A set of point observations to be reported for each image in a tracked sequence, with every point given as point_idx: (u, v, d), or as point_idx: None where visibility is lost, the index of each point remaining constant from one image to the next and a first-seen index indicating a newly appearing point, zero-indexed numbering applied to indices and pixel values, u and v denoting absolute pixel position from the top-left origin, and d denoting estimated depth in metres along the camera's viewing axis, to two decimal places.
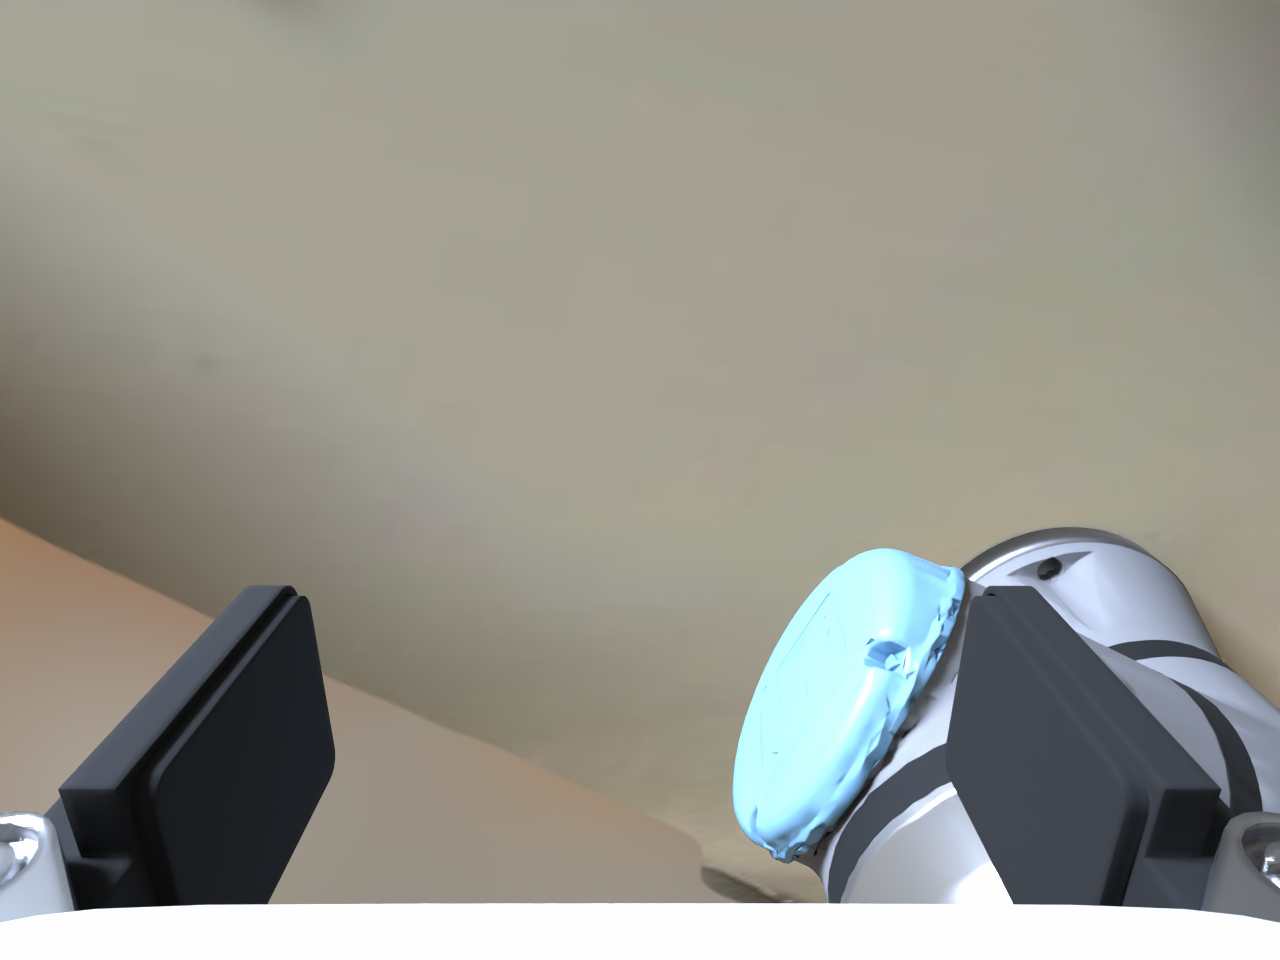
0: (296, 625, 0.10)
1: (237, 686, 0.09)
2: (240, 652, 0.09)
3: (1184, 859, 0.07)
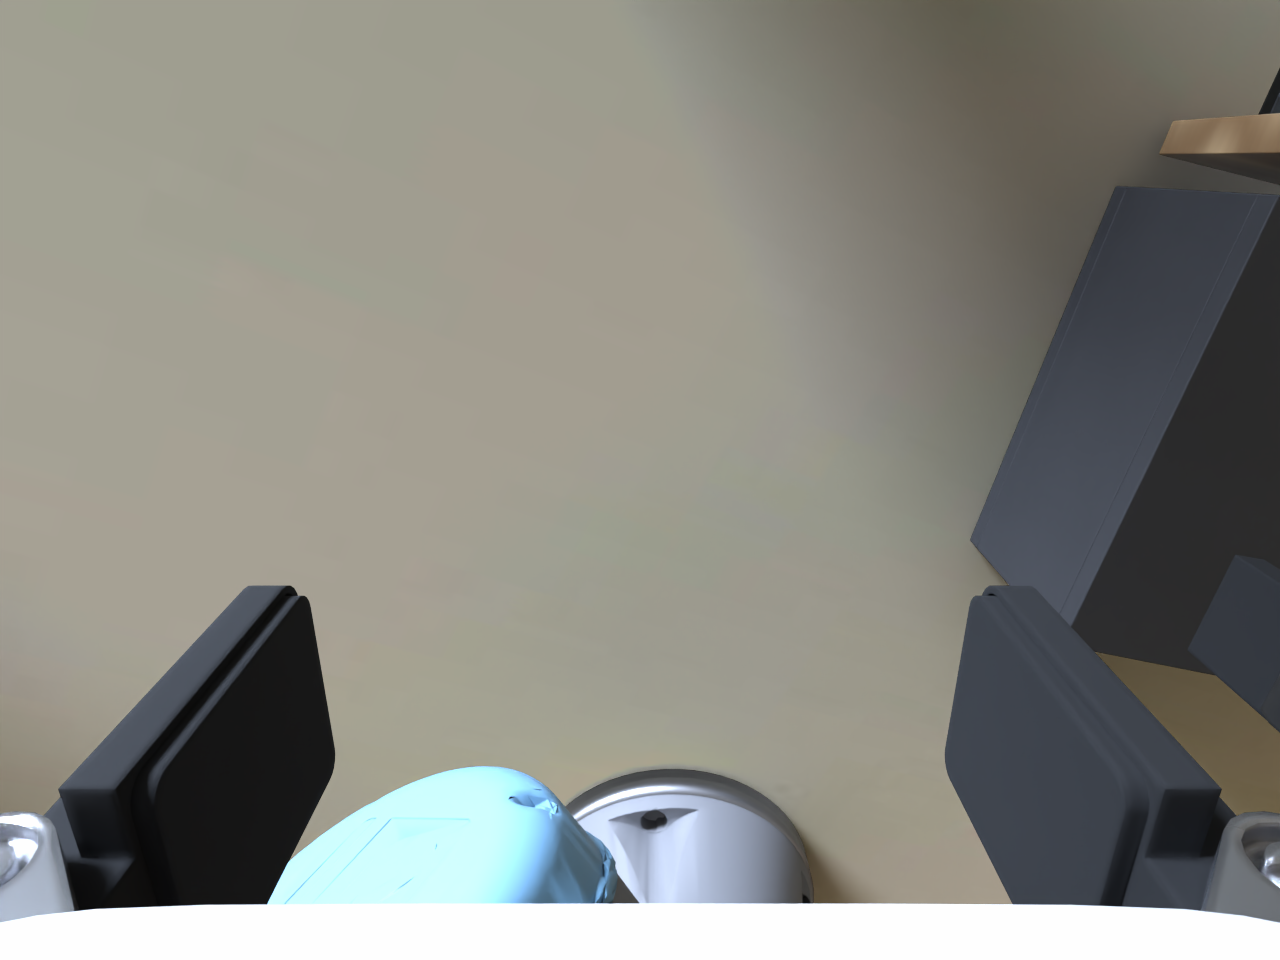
0: (296, 625, 0.10)
1: (237, 686, 0.09)
2: (240, 651, 0.09)
3: (1184, 859, 0.07)
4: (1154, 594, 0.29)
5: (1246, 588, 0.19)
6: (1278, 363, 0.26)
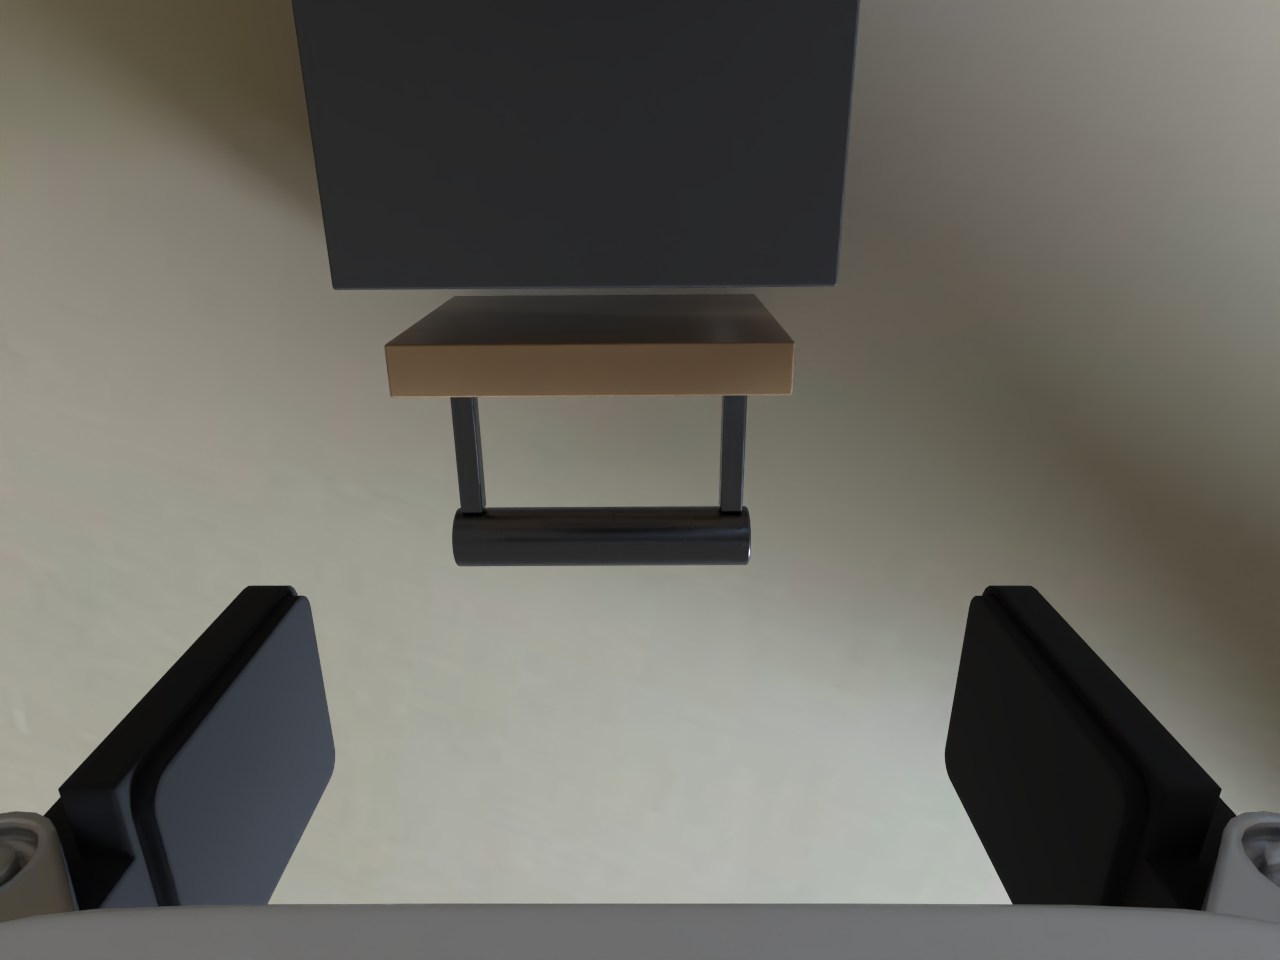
0: (296, 625, 0.10)
1: (238, 686, 0.09)
2: (239, 652, 0.09)
3: (1184, 859, 0.07)
4: None
5: None
6: (718, 27, 0.15)
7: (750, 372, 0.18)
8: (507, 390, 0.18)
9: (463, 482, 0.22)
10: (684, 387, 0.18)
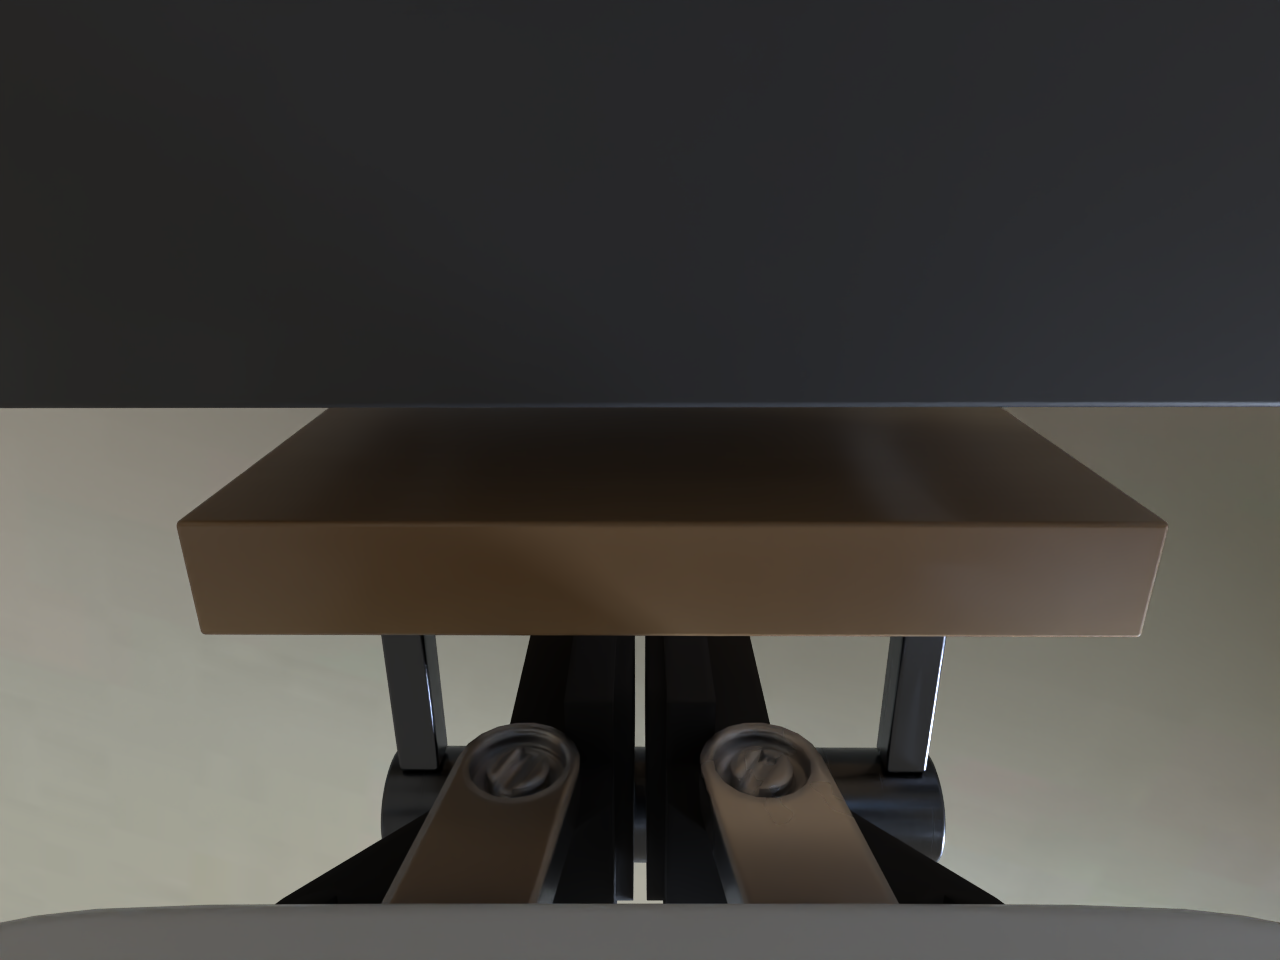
0: None
1: None
2: None
3: (696, 765, 0.09)
4: None
5: None
6: None
7: (1051, 588, 0.07)
8: (472, 621, 0.08)
9: (401, 719, 0.12)
10: (889, 619, 0.08)
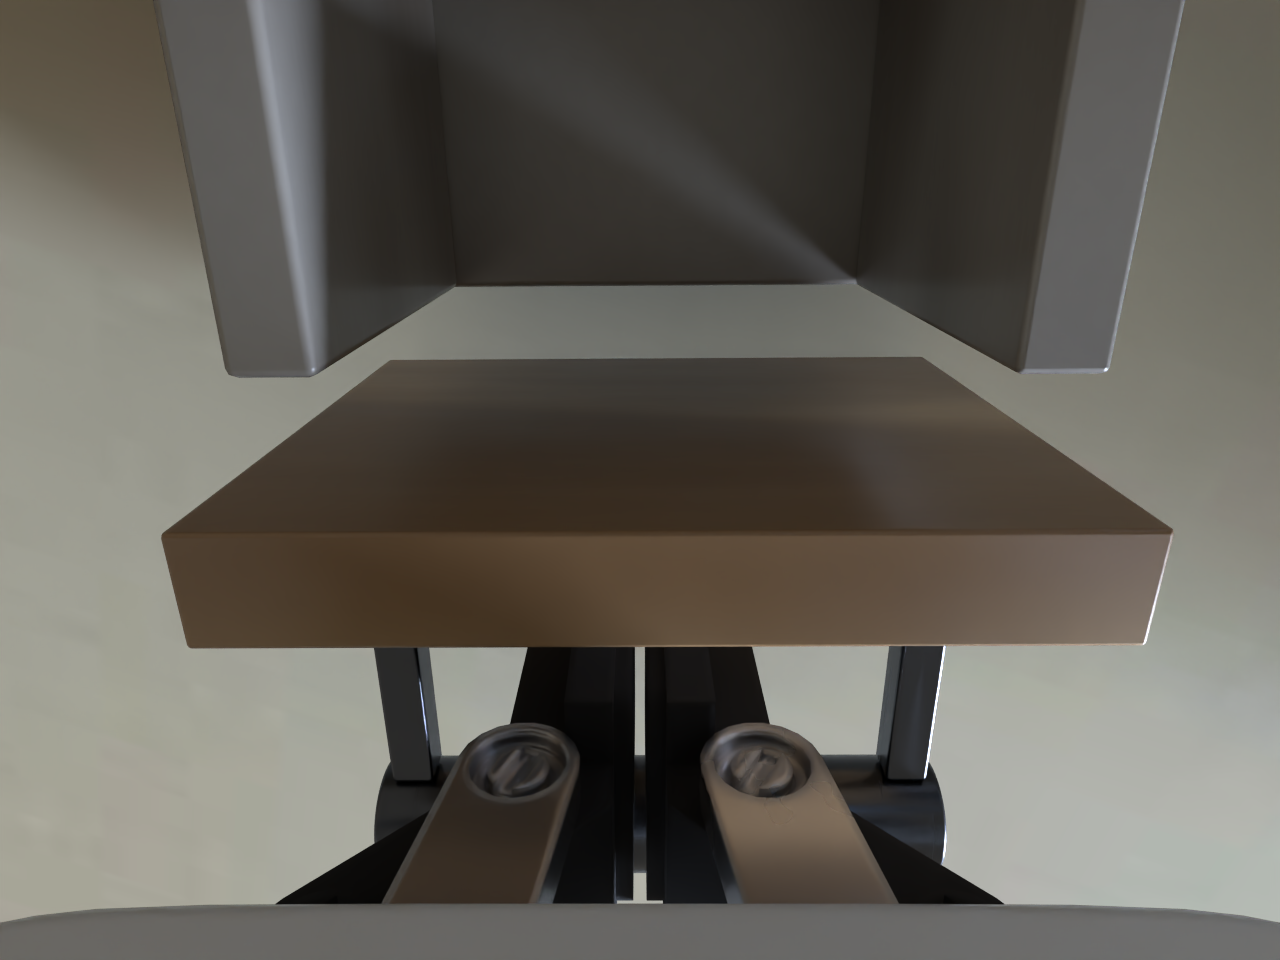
0: None
1: None
2: None
3: (695, 765, 0.09)
4: None
5: None
6: None
7: (1054, 596, 0.07)
8: (465, 633, 0.08)
9: (394, 730, 0.11)
10: (890, 629, 0.07)
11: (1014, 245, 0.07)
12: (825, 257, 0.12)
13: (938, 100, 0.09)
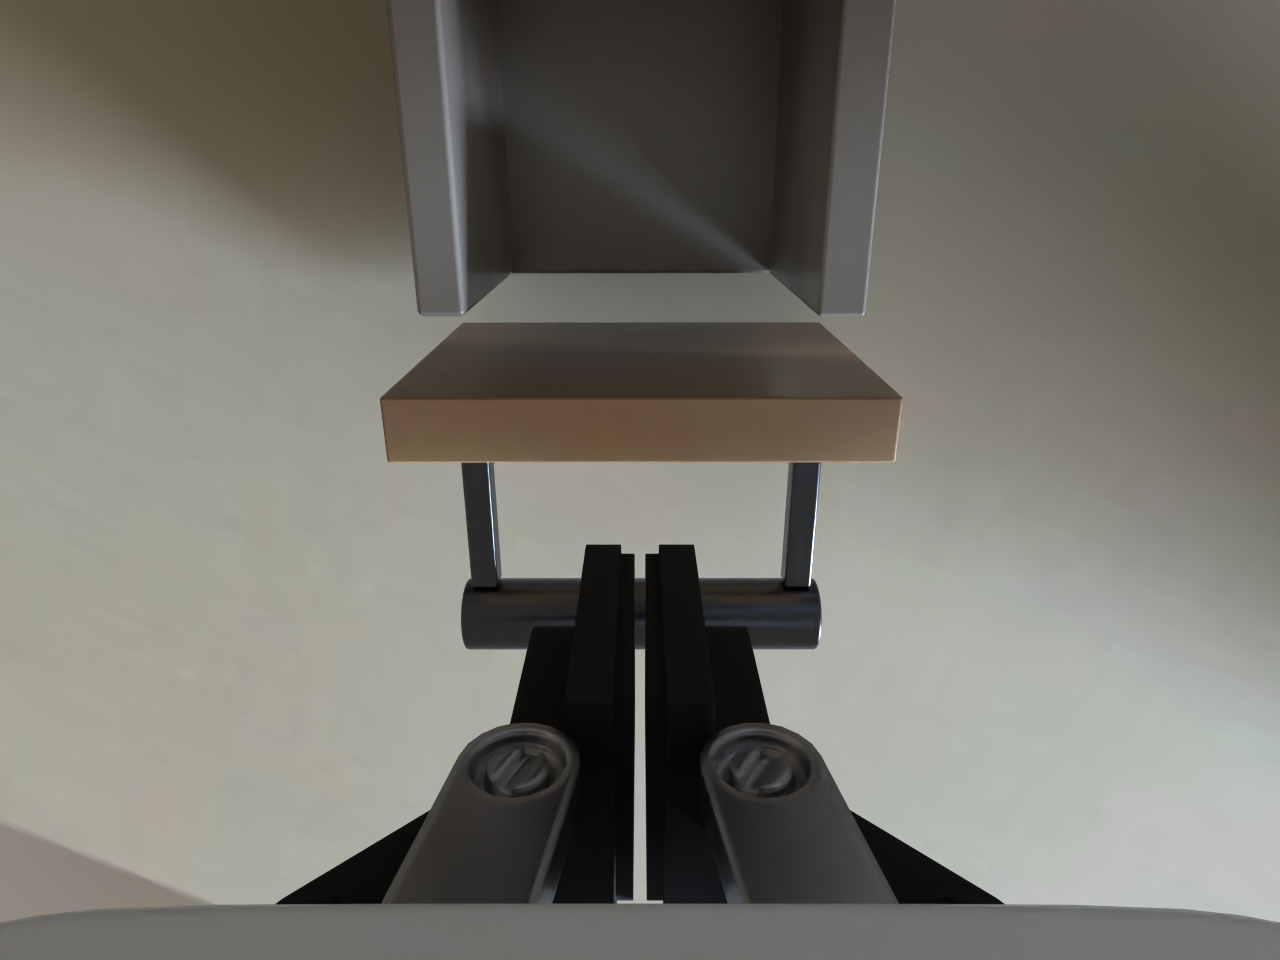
0: None
1: (633, 625, 0.10)
2: (619, 598, 0.11)
3: (695, 765, 0.09)
4: None
5: None
6: None
7: (844, 434, 0.14)
8: (535, 454, 0.14)
9: (475, 551, 0.18)
10: (760, 452, 0.14)
11: (817, 251, 0.14)
12: (749, 255, 0.19)
13: (797, 168, 0.15)
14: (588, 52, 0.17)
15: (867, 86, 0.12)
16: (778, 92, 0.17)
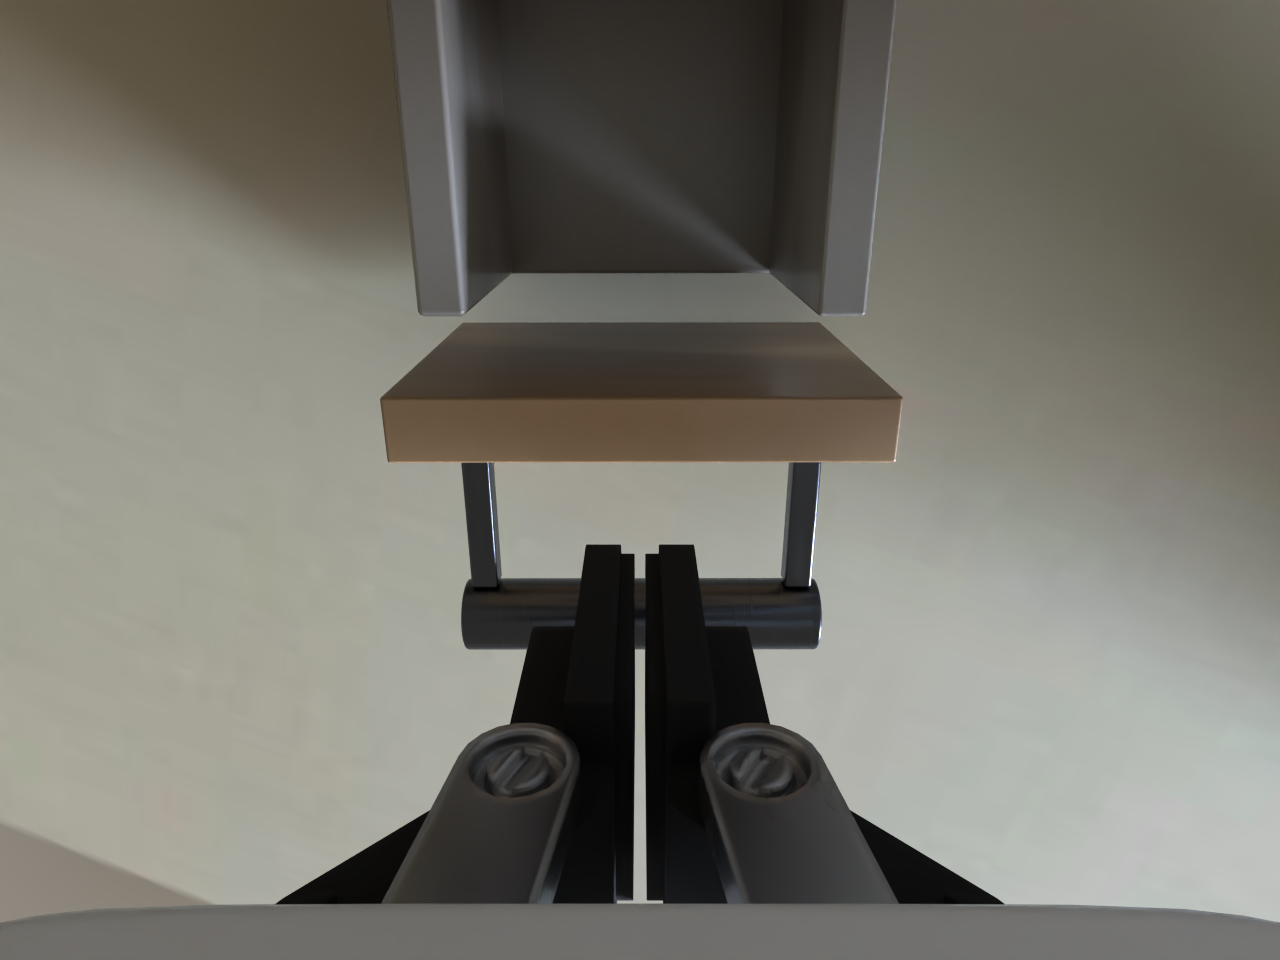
0: None
1: (633, 625, 0.10)
2: (619, 598, 0.11)
3: (695, 765, 0.09)
4: None
5: None
6: None
7: (845, 434, 0.14)
8: (536, 454, 0.14)
9: (475, 552, 0.18)
10: (760, 452, 0.14)
11: (818, 250, 0.14)
12: (749, 255, 0.19)
13: (797, 168, 0.15)
14: (588, 52, 0.17)
15: (867, 86, 0.12)
16: (778, 92, 0.17)
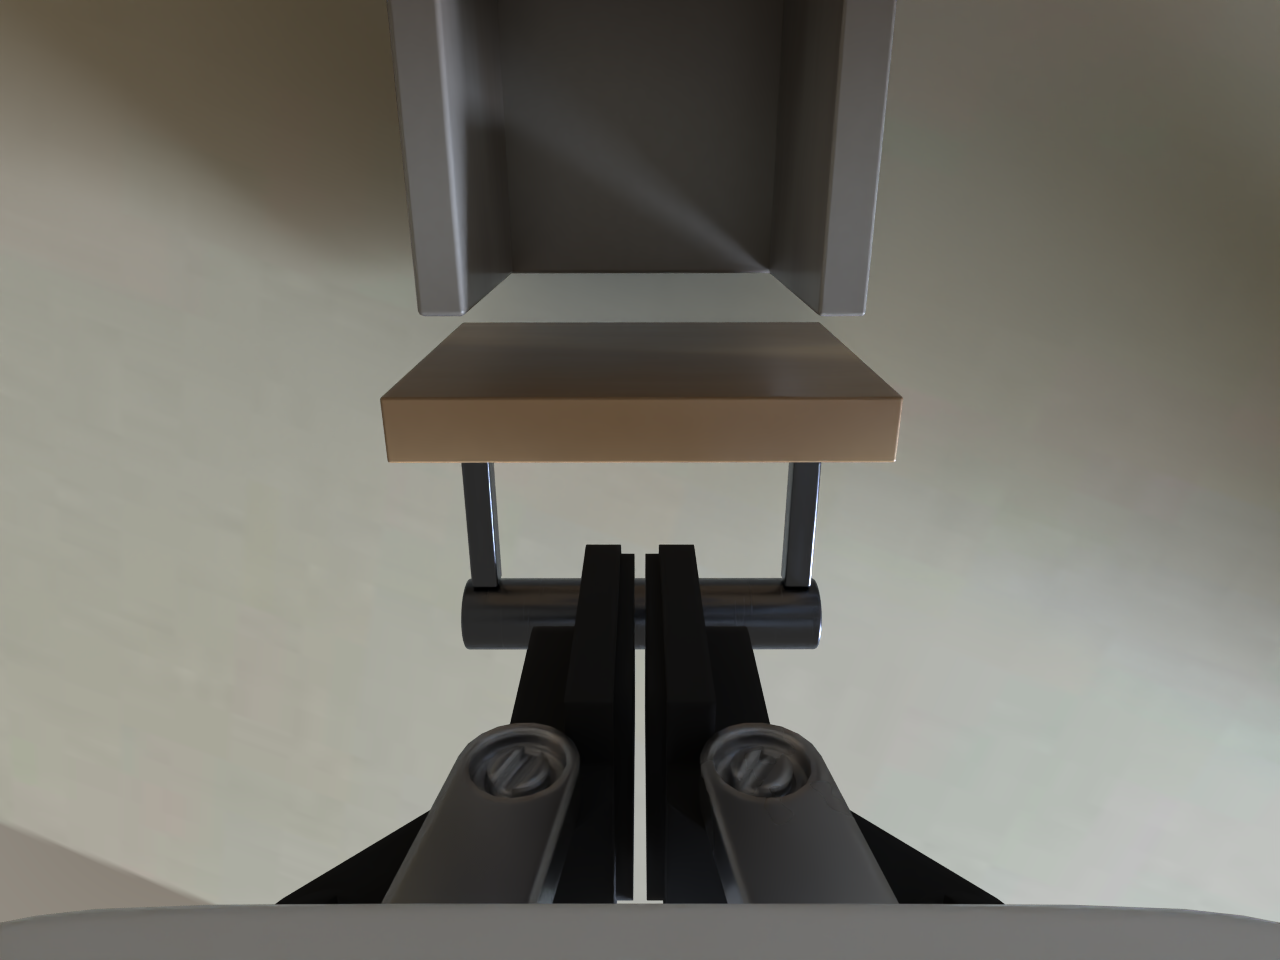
0: None
1: (633, 625, 0.10)
2: (619, 598, 0.11)
3: (695, 765, 0.09)
4: None
5: None
6: None
7: (845, 434, 0.14)
8: (536, 454, 0.14)
9: (475, 551, 0.18)
10: (760, 452, 0.14)
11: (818, 250, 0.14)
12: (749, 255, 0.19)
13: (797, 168, 0.15)
14: (588, 52, 0.17)
15: (867, 86, 0.12)
16: (778, 92, 0.17)
